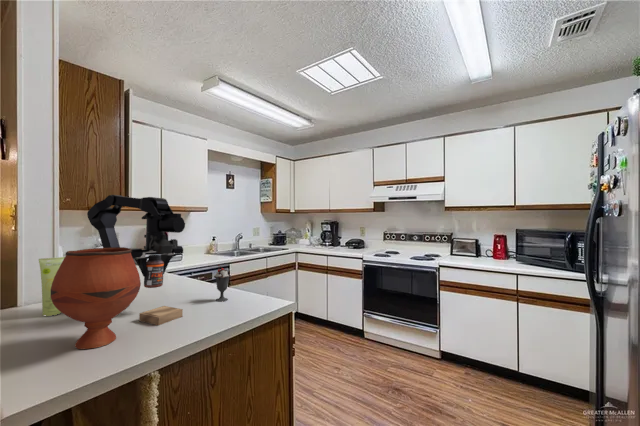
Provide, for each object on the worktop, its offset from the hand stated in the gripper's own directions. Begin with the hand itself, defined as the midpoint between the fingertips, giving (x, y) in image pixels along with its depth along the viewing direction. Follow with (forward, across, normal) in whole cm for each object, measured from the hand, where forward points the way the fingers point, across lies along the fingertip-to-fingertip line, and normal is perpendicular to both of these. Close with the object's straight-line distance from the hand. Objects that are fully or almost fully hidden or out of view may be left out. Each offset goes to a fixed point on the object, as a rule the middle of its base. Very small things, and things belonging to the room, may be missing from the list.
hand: (153, 275), depth 101 cm
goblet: (+13, -21, -13) cm, 28 cm away
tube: (+13, -21, +24) cm, 35 cm away
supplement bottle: (+4, 0, 0) cm, 4 cm away
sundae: (+13, +24, -7) cm, 29 cm away
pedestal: (+13, -2, -9) cm, 16 cm away
